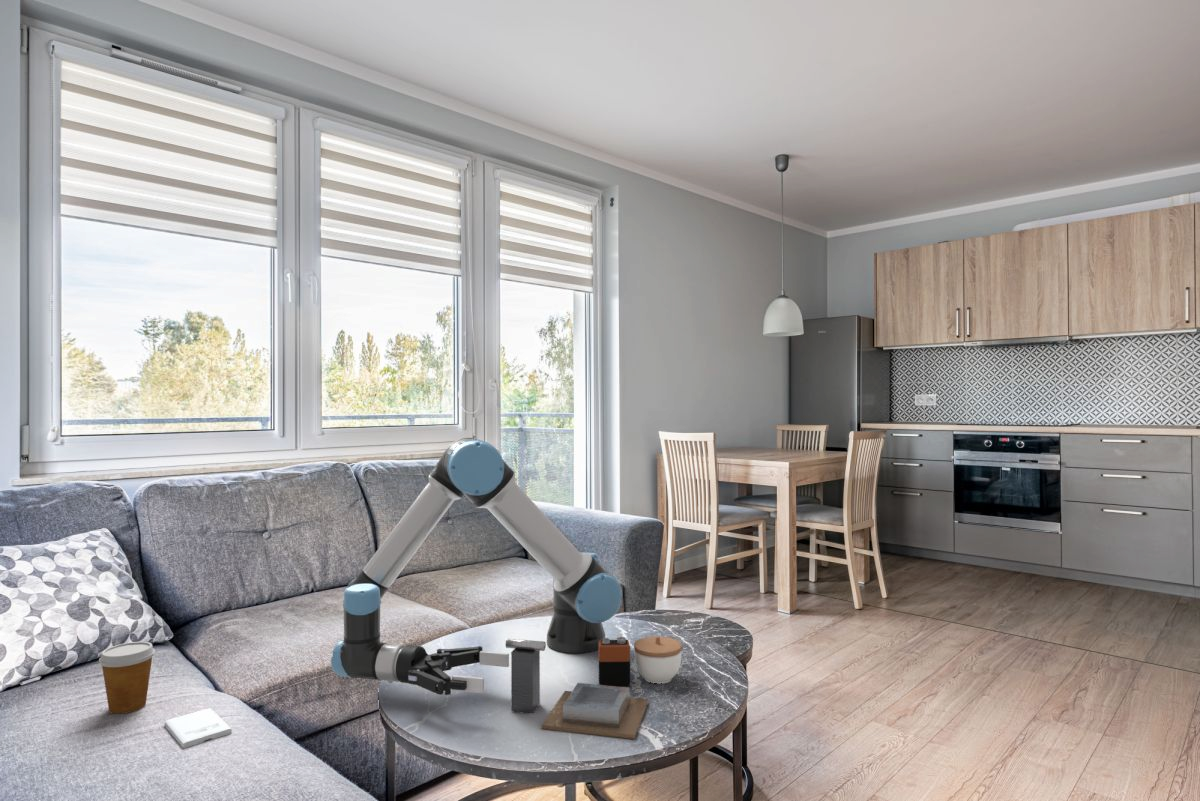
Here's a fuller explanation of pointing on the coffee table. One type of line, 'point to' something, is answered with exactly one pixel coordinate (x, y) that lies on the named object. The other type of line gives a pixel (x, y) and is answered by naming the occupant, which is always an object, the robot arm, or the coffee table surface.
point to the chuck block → (597, 711)
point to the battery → (614, 662)
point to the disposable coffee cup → (127, 675)
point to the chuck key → (525, 674)
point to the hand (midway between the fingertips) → (496, 672)
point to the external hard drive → (197, 727)
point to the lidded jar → (658, 658)
